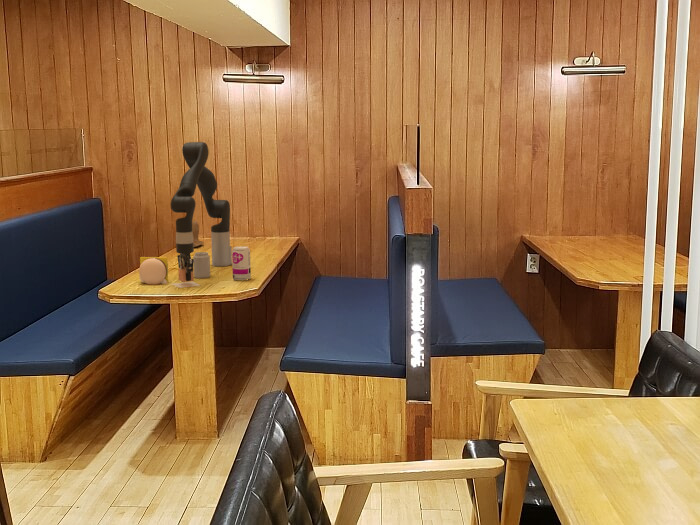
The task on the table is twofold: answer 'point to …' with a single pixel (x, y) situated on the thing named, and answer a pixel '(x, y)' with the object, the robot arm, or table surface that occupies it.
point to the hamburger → (153, 270)
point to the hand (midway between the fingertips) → (186, 279)
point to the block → (184, 275)
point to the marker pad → (186, 284)
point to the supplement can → (241, 263)
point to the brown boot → (196, 234)
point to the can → (201, 265)
